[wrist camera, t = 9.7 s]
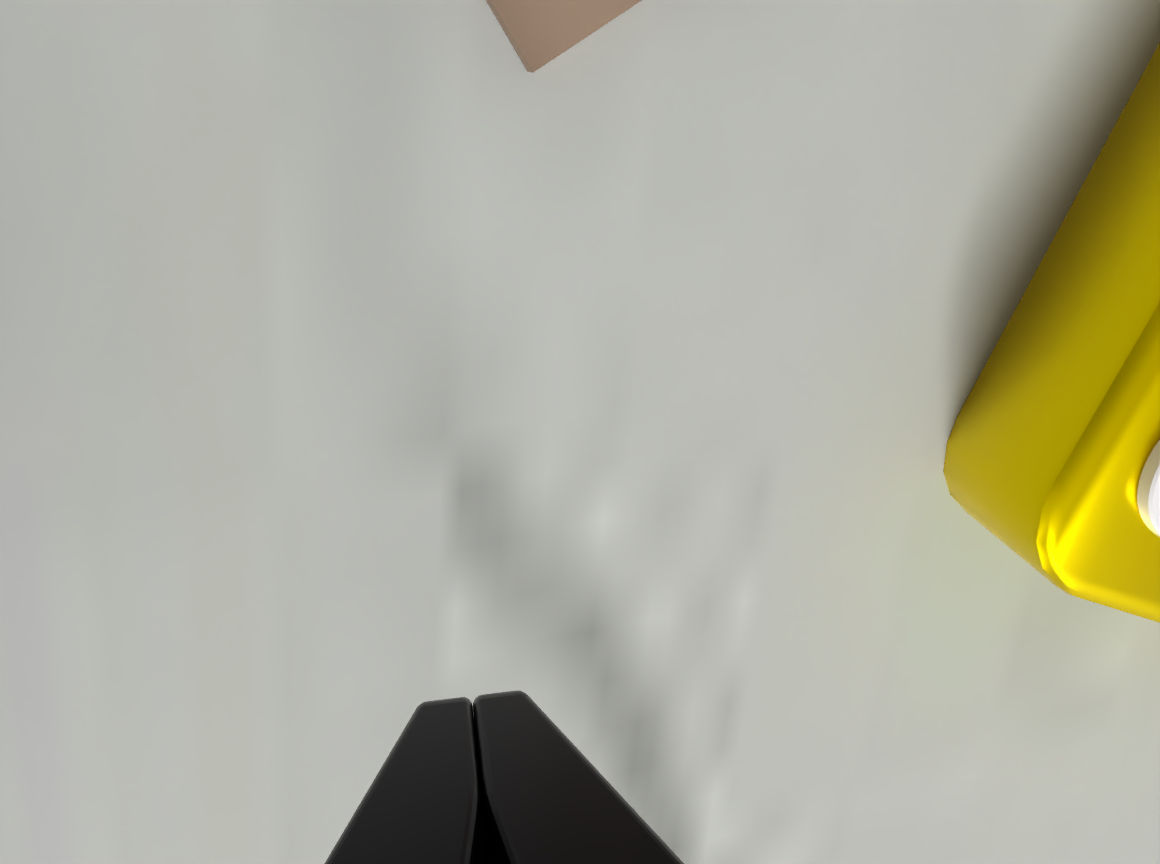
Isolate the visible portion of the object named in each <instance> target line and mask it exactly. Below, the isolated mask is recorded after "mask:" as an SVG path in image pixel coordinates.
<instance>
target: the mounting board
mask: <svg viewBox="0 0 1160 864" xmlns="http://www.w3.org/2000/svg"><path fill="white" fill-rule="evenodd" d="M486 1H487V3H488V4H489V6H490V8H491V10H492V11H493V13H494V15H495V16H496V18H497V20H498V22H499V23H500V25H501V27H502V28H503V30H504V32H505V34H506V35H507V37H508V39H509V40H510V42H511V44H512V45H513V47H514V49H515V51H516V52H517V54H518V56H519V57H520V59H521V61H522V63H523V64H524V66H525V68H526V69H527V71H528V72H534V71H536V70H537V69H539V68H540V67H542V66H543V65H545V64H546V63H548V62H549V61H551V60H553V59H554V58H556V57H557V56H559V55H560V54H562V53H563V52H565V51H566V50H568V49H569V48H571V47H572V46H574V45H575V44H577V43H578V42H580V41H581V40H583V39H584V38H586V37H587V36H589V35H590V34H592V33H593V32H595V31H596V30H598V29H599V28H601V27H602V26H604V25H605V24H607V23H608V22H610V21H611V20H613V19H614V18H616V17H617V16H619V15H620V14H622V13H623V12H625V11H626V10H628V9H629V8H631V7H632V6H634V5H635V4H637V3H638V2H640V1H641V0H486Z"/></svg>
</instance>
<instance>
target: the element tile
mask: <svg viewBox="0 0 1160 864" xmlns="http://www.w3.org/2000/svg"><path fill="white" fill-rule="evenodd" d="M943 472H944V475H945V479H946V482H947V485H948V489H949V492H950V495H951V496H952V497H953V498H954V499H955V500H956V501H957V502H958V503H959V504H960V506H961V507H962V508H963V509H964V510H965V511H966V512H967V513H968V514H969V515H971V516H972V517H973V518H974V519H976V520H977V521H978V522H979V523H980V524H982V525H983V526H984V527H985V528H986V529H988V530H989V531H990V532H991V533H992V534H994V535H995V536H996V537H997V538H998V539H1000V540H1001V541H1002V542H1003V543H1005V544H1006V545H1007V546H1008V547H1009V548H1011V549H1012V550H1013V551H1014V552H1015V553H1017V554H1018V555H1019V556H1020V557H1021V558H1023V559H1024V560H1025V561H1026V562H1028V563H1029V564H1030V565H1031V566H1032V567H1034V568H1035V569H1036V570H1037V571H1038V572H1040V573H1041V574H1042V575H1043V576H1044V577H1046V578H1047V579H1048V580H1049V581H1050V582H1052V583H1053V584H1054V585H1055V586H1057V587H1059V588H1060V589H1062V590H1063V591H1065V592H1066V593H1068V594H1070V595H1073V596H1076V597H1079V598H1082V599H1086V600H1089V601H1092V602H1095V603H1099V604H1102V605H1105V606H1108V607H1111V608H1115V609H1118V610H1121V611H1124V612H1127V613H1131V614H1134V615H1137V616H1140V617H1144V618H1147V619H1150V620H1153V621H1156V622H1160V43H1159V45H1158V47H1157V49H1156V50H1155V52H1154V54H1153V56H1152V58H1151V60H1150V61H1149V63H1148V65H1147V67H1146V69H1145V71H1144V73H1143V74H1142V76H1141V78H1140V80H1139V82H1138V84H1137V86H1136V87H1135V89H1134V91H1133V93H1132V95H1131V97H1130V98H1129V100H1128V102H1127V104H1126V106H1125V108H1124V110H1123V111H1122V113H1121V115H1120V117H1119V119H1118V121H1117V123H1116V124H1115V126H1114V128H1113V130H1112V132H1111V134H1110V135H1109V137H1108V139H1107V141H1106V143H1105V145H1104V147H1103V148H1102V150H1101V152H1100V154H1099V156H1098V158H1097V159H1096V161H1095V163H1094V165H1093V167H1092V169H1091V171H1090V172H1089V174H1088V176H1087V178H1086V180H1085V182H1084V184H1083V185H1082V187H1081V189H1080V191H1079V193H1078V195H1077V196H1076V198H1075V200H1074V202H1073V204H1072V206H1071V208H1070V209H1069V211H1068V213H1067V215H1066V217H1065V219H1064V221H1063V222H1062V224H1061V226H1060V228H1059V230H1058V232H1057V233H1056V235H1055V237H1054V239H1053V241H1052V243H1051V245H1050V246H1049V248H1048V250H1047V252H1046V254H1045V256H1044V257H1043V259H1042V261H1041V263H1040V265H1039V267H1038V269H1037V270H1036V272H1035V274H1034V276H1033V278H1032V280H1031V282H1030V283H1029V285H1028V287H1027V289H1026V291H1025V293H1024V294H1023V296H1022V298H1021V300H1020V302H1019V304H1018V306H1017V307H1016V309H1015V311H1014V313H1013V315H1012V317H1011V319H1010V320H1009V322H1008V324H1007V326H1006V328H1005V330H1004V331H1003V333H1002V335H1001V337H1000V339H999V341H998V343H997V344H996V346H995V348H994V350H993V352H992V354H991V355H990V357H989V359H988V361H987V363H986V365H985V367H984V368H983V370H982V372H981V374H980V376H979V378H978V380H977V381H976V383H975V385H974V387H973V389H972V391H971V392H970V394H969V396H968V398H967V400H966V402H965V404H964V405H963V407H962V409H961V411H960V413H959V415H958V417H957V419H956V421H955V424H954V426H953V429H952V432H951V434H950V437H949V439H948V442H947V448H946V455H945V463H944V471H943Z"/></svg>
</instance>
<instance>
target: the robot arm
mask: <svg viewBox="0 0 1160 864" xmlns="http://www.w3.org/2000/svg"><path fill="white" fill-rule="evenodd" d="M473 714H474V716H473ZM325 864H684V863H683V862H682V861H681V860H680V859H679V858H678V857H677V856H676V854H675V853H674V852H673V851H672V850H671V849H670V848H669V847H668V846H667V845H666V844H665V843H664V842H663V840H662V839H661V838H660V837H659V836H658V835H657V834H656V833H655V832H654V831H653V830H652V829H651V828H650V826H649V825H648V824H647V823H646V822H645V821H644V820H643V819H642V818H641V817H640V816H639V815H638V814H637V812H636V811H635V810H634V809H633V808H632V807H631V806H630V805H629V804H628V803H627V802H626V801H625V800H624V798H623V797H622V796H621V795H620V794H619V793H618V792H617V791H616V790H615V789H614V788H613V787H612V786H611V784H610V783H609V782H608V781H607V780H606V779H605V778H604V777H603V776H602V775H601V774H600V773H599V772H598V770H597V769H596V768H595V767H594V766H593V765H592V764H591V763H590V762H589V761H588V760H587V759H586V758H585V756H584V755H583V754H582V753H581V752H580V751H579V750H578V749H577V748H576V747H575V746H574V745H573V744H572V742H571V741H570V740H569V739H568V738H567V737H566V736H565V735H564V734H563V733H562V732H561V731H560V730H559V728H558V727H557V726H556V725H555V724H554V723H553V722H552V721H551V720H550V719H549V718H548V717H547V716H546V714H545V713H544V712H543V711H542V710H541V709H540V708H539V707H538V706H537V705H536V704H535V703H534V702H533V700H532V699H531V698H530V697H529V696H528V695H527V694H526V693H524V692H522V691H510V692H501V693H493V694H485V695H480V696H478V697H477V698H475V700H474V702H473V707H472V703H471V701H470V700H469V699H467V698H465V697H460V698H452V699H444V700H435V701H427V702H424V703H422V704H420V705H419V706H418V707H417V709H416V710H415V712H414V714H413V715H412V717H411V719H410V720H409V722H408V724H407V725H406V727H405V729H404V731H403V732H402V734H401V736H400V737H399V739H398V741H397V742H396V744H395V746H394V747H393V749H392V751H391V752H390V754H389V756H388V758H387V759H386V761H385V763H384V764H383V766H382V768H381V769H380V771H379V773H378V774H377V776H376V778H375V779H374V781H373V783H372V785H371V786H370V788H369V790H368V791H367V793H366V795H365V796H364V798H363V800H362V801H361V803H360V805H359V807H358V808H357V810H356V812H355V813H354V815H353V817H352V818H351V820H350V822H349V823H348V825H347V827H346V828H345V830H344V832H343V834H342V835H341V837H340V839H339V840H338V842H337V844H336V845H335V847H334V849H333V850H332V852H331V854H330V856H329V857H328V859H327V861H326V862H325Z"/></svg>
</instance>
